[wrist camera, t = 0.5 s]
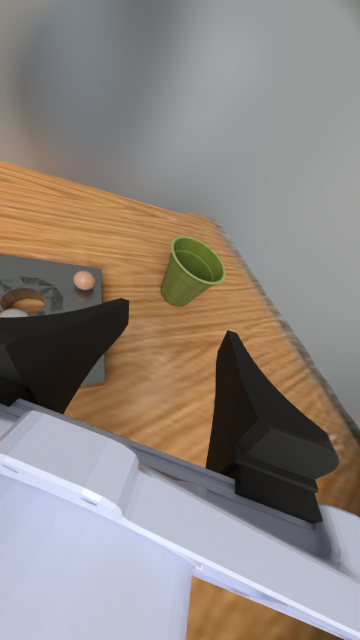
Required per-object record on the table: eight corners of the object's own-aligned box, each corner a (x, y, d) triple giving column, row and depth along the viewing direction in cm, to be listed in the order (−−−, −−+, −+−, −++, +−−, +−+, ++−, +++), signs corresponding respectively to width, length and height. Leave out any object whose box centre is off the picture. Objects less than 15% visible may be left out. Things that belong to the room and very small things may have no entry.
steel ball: (13, 345, 20) (3, 333, 17) (-7, 326, 20) (-19, 312, 17) (42, 329, 22) (36, 316, 19) (24, 312, 22) (16, 298, 19)
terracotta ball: (83, 297, 26) (83, 284, 24) (69, 284, 26) (67, 270, 24) (98, 288, 28) (100, 276, 26) (85, 277, 28) (86, 264, 26)
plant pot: (159, 318, 34) (185, 282, 26) (145, 273, 39) (162, 230, 30) (203, 314, 41) (235, 284, 32) (186, 276, 45) (211, 241, 36)
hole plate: (103, 385, 24) (105, 381, 22) (-137, 424, 15) (-170, 424, 13) (99, 278, 32) (100, 268, 31) (-53, 259, 23) (-65, 244, 21)
